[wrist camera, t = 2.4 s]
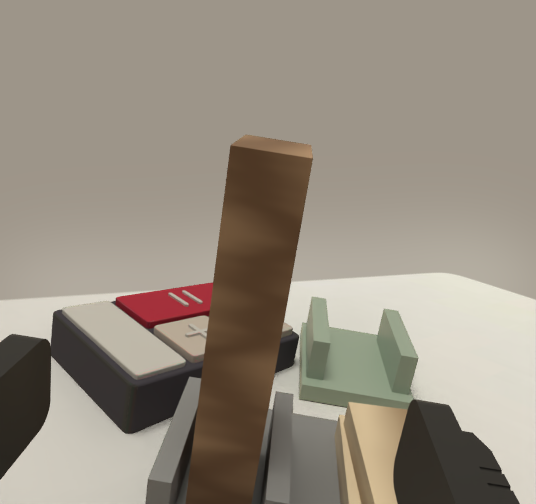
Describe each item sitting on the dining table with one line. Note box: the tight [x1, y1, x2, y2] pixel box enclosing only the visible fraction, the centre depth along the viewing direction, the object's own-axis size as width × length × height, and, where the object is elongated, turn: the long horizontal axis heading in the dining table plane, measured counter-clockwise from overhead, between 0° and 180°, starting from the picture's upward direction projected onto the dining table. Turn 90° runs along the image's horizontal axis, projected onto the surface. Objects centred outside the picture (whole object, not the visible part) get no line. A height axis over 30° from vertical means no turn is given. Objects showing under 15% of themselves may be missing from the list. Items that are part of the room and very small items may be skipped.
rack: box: [146, 377, 340, 504], centre depth 25 cm, size 16×13×4 cm
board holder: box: [299, 297, 418, 410], centre depth 39 cm, size 8×10×4 cm
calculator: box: [51, 283, 299, 434], centre depth 38 cm, size 11×4×15 cm
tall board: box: [185, 135, 313, 504], centre depth 23 cm, size 3×5×17 cm, turn 176°
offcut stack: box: [334, 402, 407, 504], centre depth 25 cm, size 6×10×3 cm, turn 176°
